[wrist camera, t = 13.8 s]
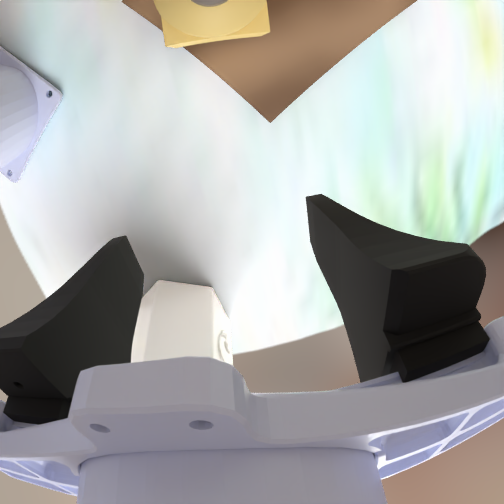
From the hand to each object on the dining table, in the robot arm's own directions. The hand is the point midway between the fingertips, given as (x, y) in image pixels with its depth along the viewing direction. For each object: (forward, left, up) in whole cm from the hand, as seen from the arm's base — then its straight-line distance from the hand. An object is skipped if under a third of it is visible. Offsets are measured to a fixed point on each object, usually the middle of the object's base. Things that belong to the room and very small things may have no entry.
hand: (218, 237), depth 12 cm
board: (-6, +11, -10) cm, 16 cm away
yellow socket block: (-7, +7, -8) cm, 13 cm away
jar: (+7, -13, -10) cm, 18 cm away
